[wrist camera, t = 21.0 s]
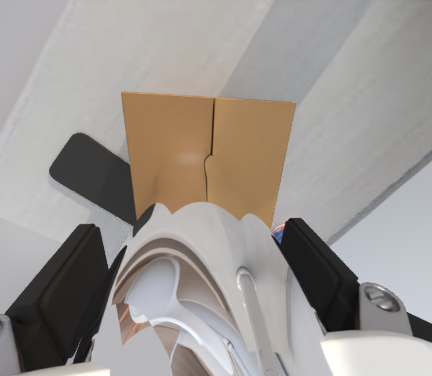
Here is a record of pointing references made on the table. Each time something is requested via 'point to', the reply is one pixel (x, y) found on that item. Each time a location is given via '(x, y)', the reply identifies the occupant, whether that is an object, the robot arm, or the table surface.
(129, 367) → the beer glass
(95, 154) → the phone
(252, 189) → the flap
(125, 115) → the carton
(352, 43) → the table surface
